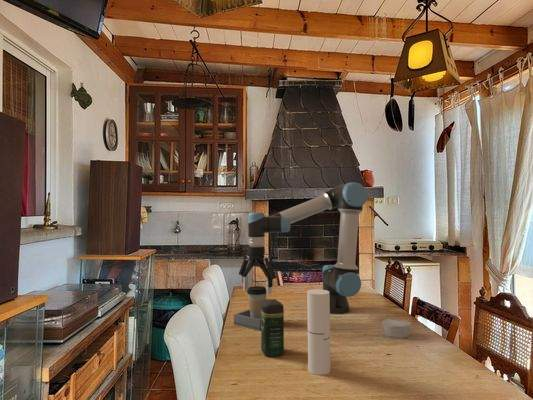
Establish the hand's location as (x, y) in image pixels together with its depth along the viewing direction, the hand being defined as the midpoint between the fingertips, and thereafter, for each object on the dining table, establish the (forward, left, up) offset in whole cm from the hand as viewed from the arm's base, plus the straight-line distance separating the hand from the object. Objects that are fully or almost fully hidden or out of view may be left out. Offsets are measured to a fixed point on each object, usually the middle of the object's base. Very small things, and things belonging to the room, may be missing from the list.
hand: (257, 292), depth 167 cm
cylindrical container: (-47, +26, -14) cm, 55 cm away
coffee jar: (-26, +23, -14) cm, 37 cm away
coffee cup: (0, 0, -13) cm, 13 cm away
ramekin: (-56, -22, -14) cm, 62 cm away
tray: (0, 0, -14) cm, 14 cm away
